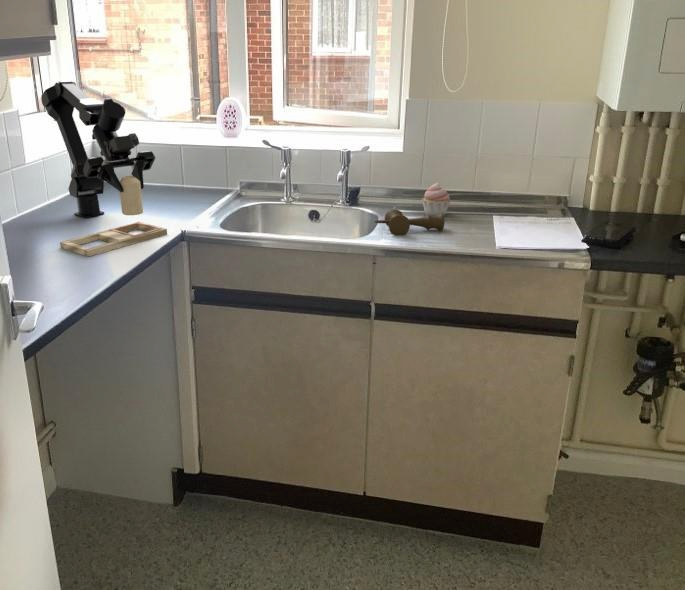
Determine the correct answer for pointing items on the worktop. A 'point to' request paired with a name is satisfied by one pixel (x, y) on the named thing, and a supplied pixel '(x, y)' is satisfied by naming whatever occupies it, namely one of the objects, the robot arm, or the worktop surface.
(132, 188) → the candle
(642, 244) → the worktop surface
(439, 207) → the cupcake
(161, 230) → the rail frame
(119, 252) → the worktop surface
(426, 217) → the kendama
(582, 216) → the worktop surface
